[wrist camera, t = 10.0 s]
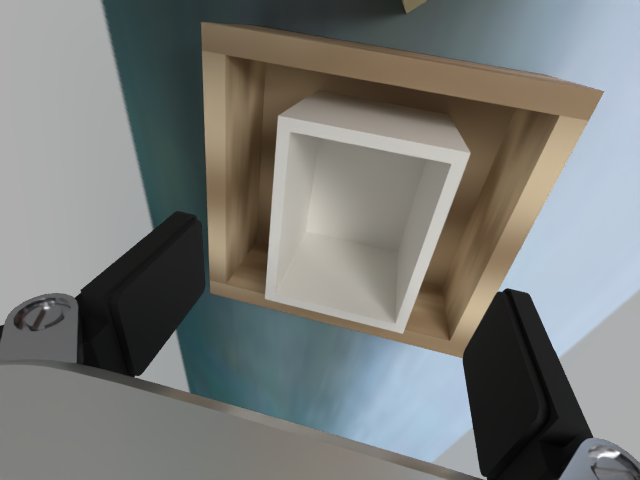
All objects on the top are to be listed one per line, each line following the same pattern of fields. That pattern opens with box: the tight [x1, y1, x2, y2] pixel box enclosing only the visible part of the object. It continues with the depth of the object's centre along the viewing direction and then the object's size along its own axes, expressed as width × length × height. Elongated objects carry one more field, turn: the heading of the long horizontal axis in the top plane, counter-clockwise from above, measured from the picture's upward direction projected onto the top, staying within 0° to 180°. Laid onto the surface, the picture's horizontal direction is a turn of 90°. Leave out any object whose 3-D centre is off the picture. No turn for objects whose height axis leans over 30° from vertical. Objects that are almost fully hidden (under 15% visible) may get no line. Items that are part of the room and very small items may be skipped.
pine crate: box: [201, 22, 604, 358], centre depth 19 cm, size 14×15×6 cm
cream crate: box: [265, 90, 471, 334], centre depth 18 cm, size 9×7×7 cm
